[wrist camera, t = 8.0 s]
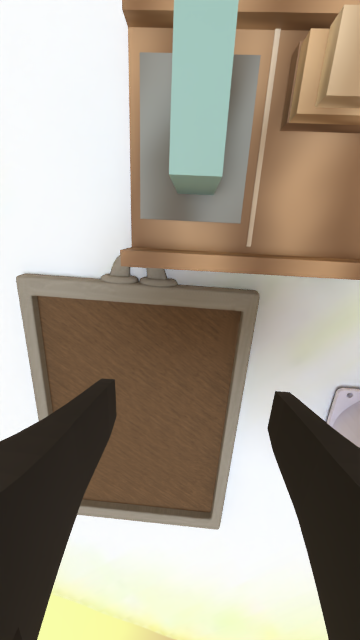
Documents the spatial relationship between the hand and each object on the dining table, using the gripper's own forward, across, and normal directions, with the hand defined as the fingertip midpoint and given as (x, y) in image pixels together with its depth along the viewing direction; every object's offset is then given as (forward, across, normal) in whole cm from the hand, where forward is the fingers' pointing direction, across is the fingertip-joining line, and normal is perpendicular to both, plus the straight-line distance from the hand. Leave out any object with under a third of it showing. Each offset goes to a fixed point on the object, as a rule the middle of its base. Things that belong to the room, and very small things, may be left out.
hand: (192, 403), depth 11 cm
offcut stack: (+10, -8, -15) cm, 20 cm away
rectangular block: (+9, 0, -13) cm, 16 cm away
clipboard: (+11, +5, +9) cm, 15 cm away
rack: (+10, -4, -12) cm, 16 cm away
